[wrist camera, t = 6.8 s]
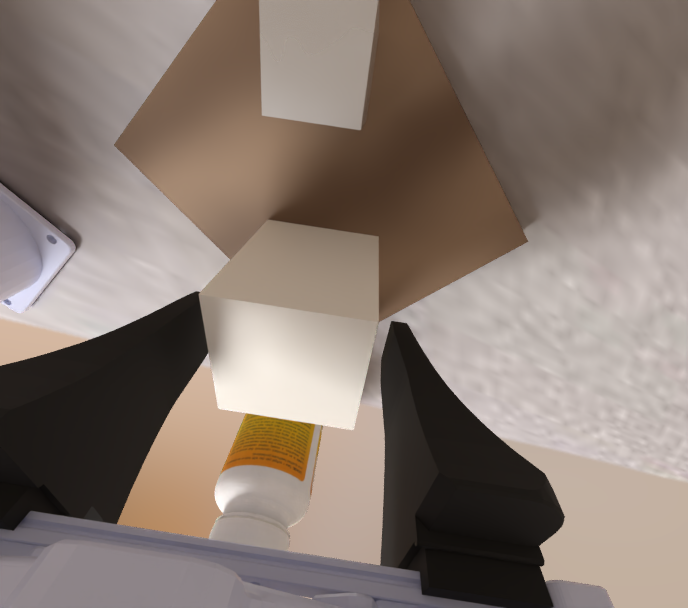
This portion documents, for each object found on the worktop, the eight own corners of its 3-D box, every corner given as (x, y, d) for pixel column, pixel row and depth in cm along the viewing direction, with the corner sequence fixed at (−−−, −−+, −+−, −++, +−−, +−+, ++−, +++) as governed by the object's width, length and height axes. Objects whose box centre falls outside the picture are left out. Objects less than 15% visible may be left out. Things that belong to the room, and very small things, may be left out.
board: (129, 142, 14) (113, 145, 13) (334, -137, 9) (330, -161, 8) (326, 340, 19) (323, 351, 18) (519, 233, 14) (528, 241, 14)
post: (299, 110, 12) (261, 115, 8) (302, 19, 10) (258, -27, 6) (366, 120, 12) (360, 130, 8) (379, 30, 10) (379, -10, 6)
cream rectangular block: (269, 310, 17) (218, 408, 12) (267, 219, 14) (198, 294, 9) (361, 324, 17) (353, 430, 12) (378, 236, 14) (378, 322, 9)
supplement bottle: (242, 380, 22) (165, 540, 14) (311, 369, 21) (269, 538, 13) (273, 425, 25) (222, 581, 17) (335, 418, 24) (313, 583, 16)
